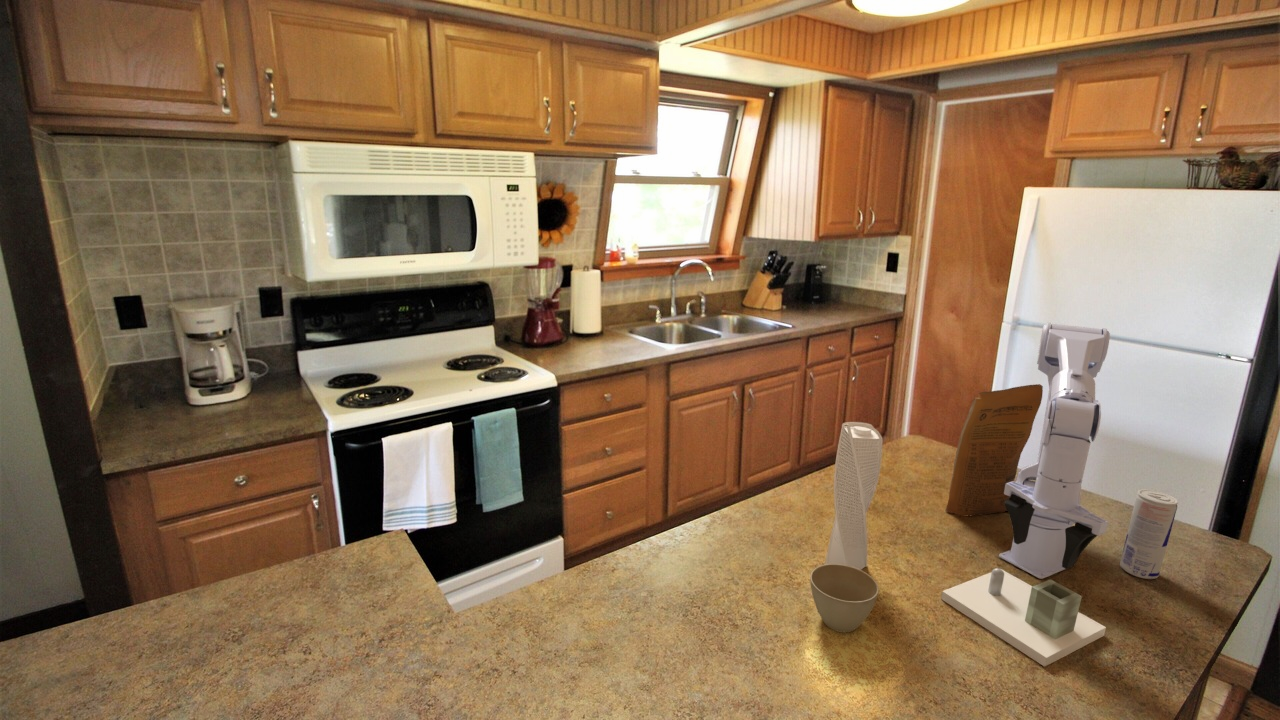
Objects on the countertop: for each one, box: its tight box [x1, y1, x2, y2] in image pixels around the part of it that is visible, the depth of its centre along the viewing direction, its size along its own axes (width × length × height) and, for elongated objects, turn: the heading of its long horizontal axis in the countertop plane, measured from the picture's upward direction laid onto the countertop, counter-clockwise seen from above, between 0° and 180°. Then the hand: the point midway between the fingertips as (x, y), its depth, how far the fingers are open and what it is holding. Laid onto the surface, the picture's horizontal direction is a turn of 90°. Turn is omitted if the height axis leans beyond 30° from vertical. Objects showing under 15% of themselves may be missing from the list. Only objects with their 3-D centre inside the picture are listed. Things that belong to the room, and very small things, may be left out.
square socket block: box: [1025, 579, 1082, 639], centre depth 95 cm, size 5×5×6 cm
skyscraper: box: [824, 421, 883, 570], centre depth 109 cm, size 8×8×28 cm
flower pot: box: [809, 563, 880, 633], centre depth 97 cm, size 10×10×7 cm
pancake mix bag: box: [945, 383, 1044, 517], centre depth 130 cm, size 7×19×28 cm, turn 103°
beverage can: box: [1119, 489, 1179, 580], centre depth 111 cm, size 6×6×15 cm
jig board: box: [940, 567, 1107, 667], centre depth 99 cm, size 15×17×6 cm
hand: (1043, 553), depth 100 cm, fingers open, 7 cm apart
